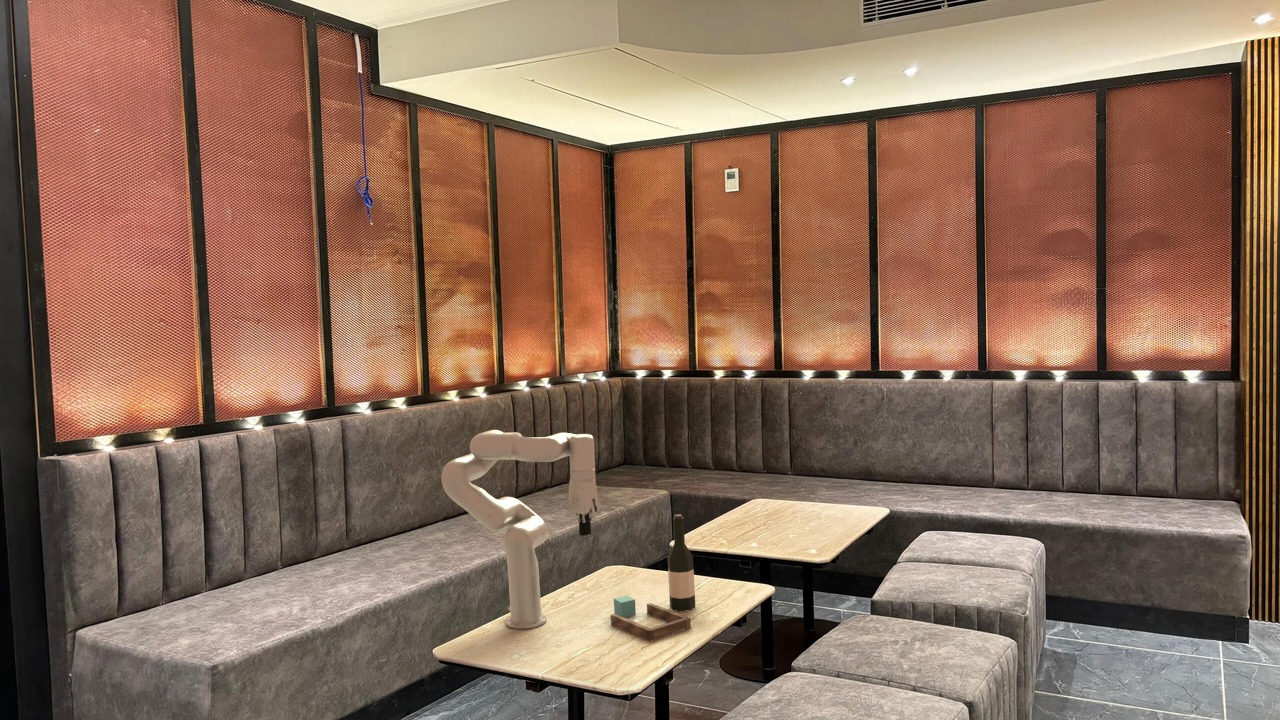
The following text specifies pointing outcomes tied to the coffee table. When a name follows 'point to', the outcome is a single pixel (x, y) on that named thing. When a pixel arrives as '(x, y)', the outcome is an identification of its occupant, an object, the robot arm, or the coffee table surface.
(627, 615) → the teal block
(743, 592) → the coffee table surface
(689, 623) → the frame
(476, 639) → the coffee table surface
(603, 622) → the coffee table surface
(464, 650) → the coffee table surface
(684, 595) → the wine bottle
